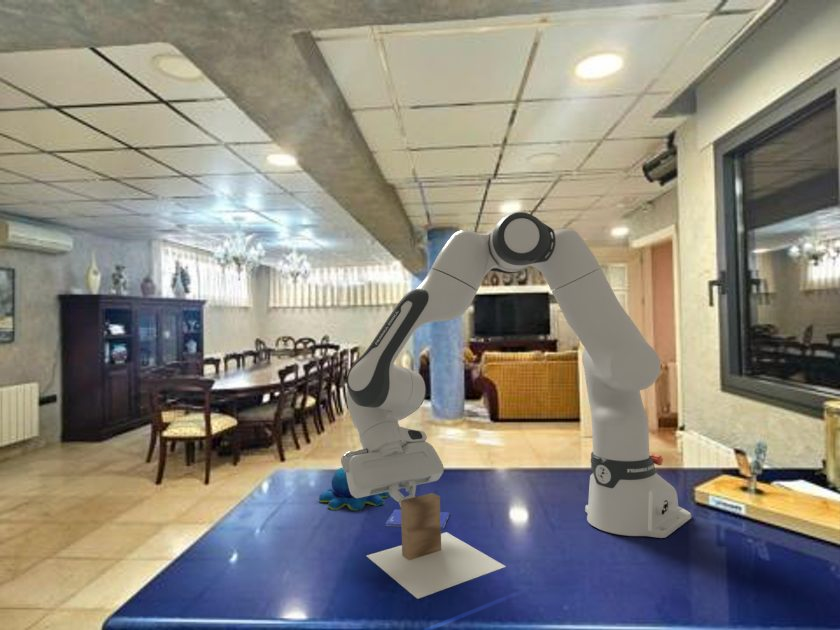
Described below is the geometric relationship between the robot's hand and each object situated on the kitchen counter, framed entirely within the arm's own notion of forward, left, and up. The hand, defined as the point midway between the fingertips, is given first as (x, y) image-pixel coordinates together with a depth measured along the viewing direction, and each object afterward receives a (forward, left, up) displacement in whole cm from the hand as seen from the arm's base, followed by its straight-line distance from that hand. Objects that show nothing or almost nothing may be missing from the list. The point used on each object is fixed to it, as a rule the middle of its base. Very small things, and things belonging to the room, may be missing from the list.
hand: (410, 506), depth 98 cm
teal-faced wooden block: (0, +4, -7) cm, 8 cm away
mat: (0, +8, -8) cm, 11 cm away
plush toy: (-3, -33, -8) cm, 34 cm away
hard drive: (-8, -10, -9) cm, 15 cm away
